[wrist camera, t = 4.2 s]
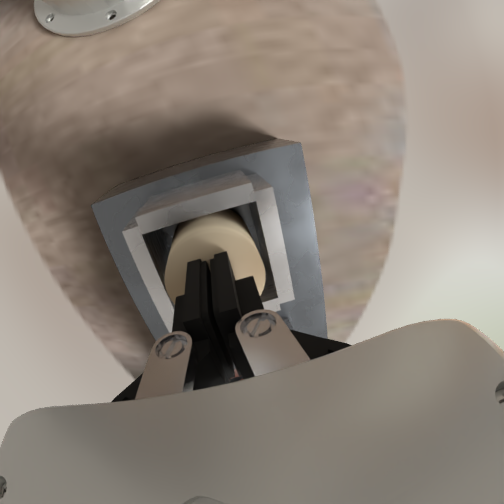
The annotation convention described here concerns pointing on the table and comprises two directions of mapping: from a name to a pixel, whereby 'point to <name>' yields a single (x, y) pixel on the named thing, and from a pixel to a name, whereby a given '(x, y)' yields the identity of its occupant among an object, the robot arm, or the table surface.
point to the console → (213, 200)
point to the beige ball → (213, 249)
